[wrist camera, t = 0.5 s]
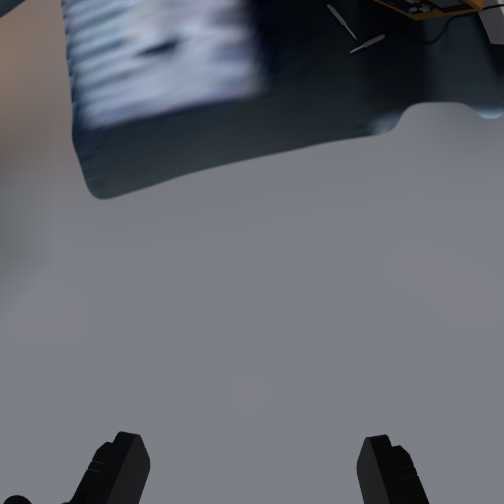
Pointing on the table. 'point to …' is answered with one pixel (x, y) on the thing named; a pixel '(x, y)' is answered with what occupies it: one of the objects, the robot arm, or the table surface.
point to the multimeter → (423, 12)
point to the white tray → (493, 21)
